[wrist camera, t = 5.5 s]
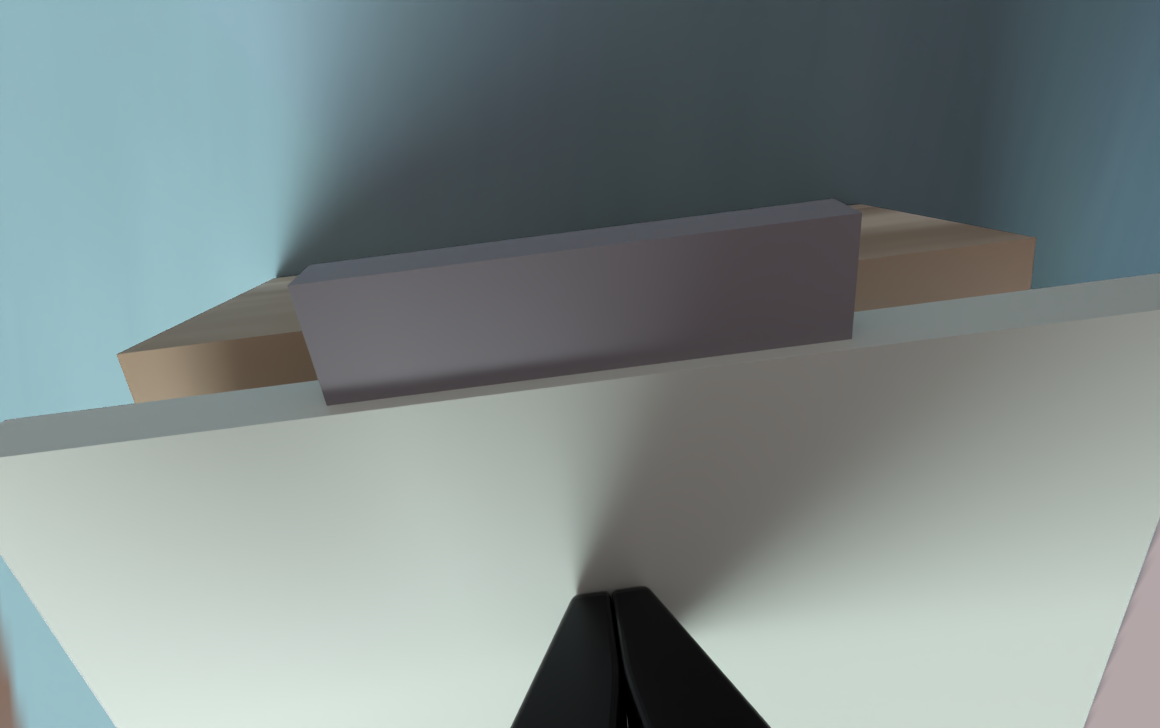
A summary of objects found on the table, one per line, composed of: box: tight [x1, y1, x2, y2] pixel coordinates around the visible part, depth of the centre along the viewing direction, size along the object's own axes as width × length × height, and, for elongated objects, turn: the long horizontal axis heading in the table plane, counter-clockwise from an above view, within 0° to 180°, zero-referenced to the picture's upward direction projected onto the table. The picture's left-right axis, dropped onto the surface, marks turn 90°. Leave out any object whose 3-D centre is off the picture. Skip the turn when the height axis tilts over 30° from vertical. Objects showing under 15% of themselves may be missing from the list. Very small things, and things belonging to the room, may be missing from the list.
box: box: [117, 204, 1036, 403], centre depth 13 cm, size 14×12×5 cm
